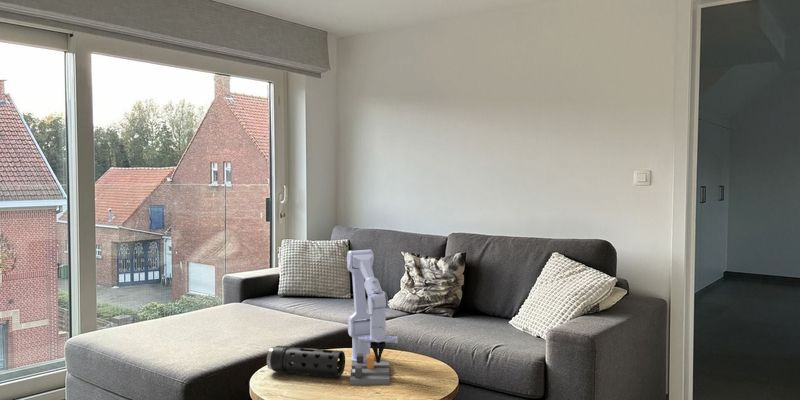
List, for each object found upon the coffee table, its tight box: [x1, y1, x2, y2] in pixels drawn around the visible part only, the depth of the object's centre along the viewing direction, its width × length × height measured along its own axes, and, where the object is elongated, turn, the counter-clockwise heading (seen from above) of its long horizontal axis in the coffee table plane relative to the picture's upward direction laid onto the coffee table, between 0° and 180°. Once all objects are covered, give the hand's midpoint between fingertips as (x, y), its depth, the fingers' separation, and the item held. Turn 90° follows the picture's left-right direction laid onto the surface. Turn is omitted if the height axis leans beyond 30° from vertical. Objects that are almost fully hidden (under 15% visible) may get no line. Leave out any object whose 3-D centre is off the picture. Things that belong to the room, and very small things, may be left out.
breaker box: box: [349, 354, 390, 386], centre depth 225 cm, size 20×14×6 cm
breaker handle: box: [366, 353, 376, 369], centre depth 225 cm, size 4×3×5 cm
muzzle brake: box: [266, 345, 346, 379], centre depth 226 cm, size 10×28×10 cm, turn 76°
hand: (378, 361), depth 225 cm, fingers closed
